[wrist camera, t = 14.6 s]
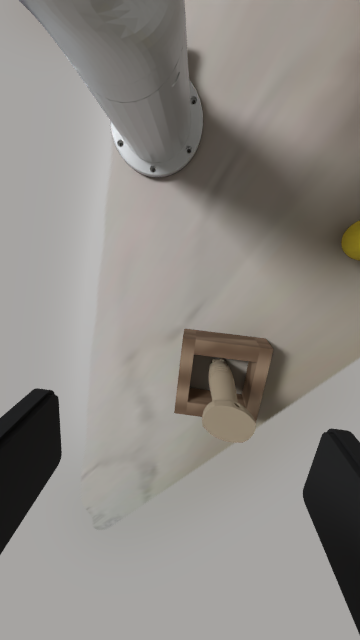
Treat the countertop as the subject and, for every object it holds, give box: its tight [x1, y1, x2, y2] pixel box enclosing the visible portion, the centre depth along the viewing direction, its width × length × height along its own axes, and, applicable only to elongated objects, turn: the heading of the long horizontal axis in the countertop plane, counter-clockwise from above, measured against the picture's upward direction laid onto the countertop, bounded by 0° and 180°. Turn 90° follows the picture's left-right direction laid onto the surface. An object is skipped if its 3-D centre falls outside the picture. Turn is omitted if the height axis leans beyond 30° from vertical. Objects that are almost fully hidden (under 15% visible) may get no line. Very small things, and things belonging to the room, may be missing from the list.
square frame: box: [174, 329, 273, 423], centre depth 41 cm, size 14×14×4 cm
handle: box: [202, 358, 256, 443], centre depth 36 cm, size 5×6×15 cm
